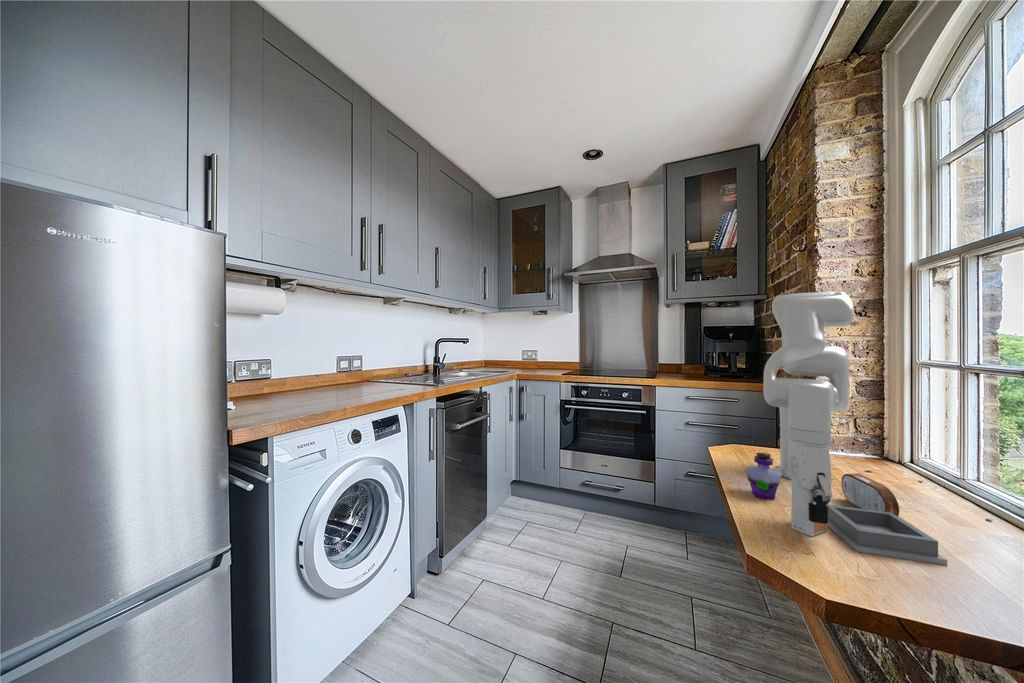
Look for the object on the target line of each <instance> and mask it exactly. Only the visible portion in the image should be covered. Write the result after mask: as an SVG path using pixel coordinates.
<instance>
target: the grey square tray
mask: <svg viewBox="0 0 1024 683" xmlns="http://www.w3.org/2000/svg"><path fill="white" fill-rule="evenodd" d="M827 527H828V528H829V527H830V528H831V529H832V530H833V533H834V534H836V535H837V536H838V537H839V538H840V539H842V540H843V541H844V542H845V543H846V544H847V545H848V546H849V547H851V548H852V549H853V550H854V551H855V552H858V553H863V554H864V553H865V554H872V555H878V556H883V557H890V558H896V557H897V558H898V559H903V558H904V560H909V561H916V562H924V563H930V564H937V565H941V566H942V565H943V566H948V559H946V558H945V557H943V556H942V555H940V554H939V541H938V540H937V539H935V538H934V537H932V536H930V535H928V534H927V533H925V532H924V531H922V530H921V529H919V528H918V527H916V526H914V525H912V524H911V523H910V522H908V521H906V520H904V519H902V518H901V517H899V516H896V515H895V514H893V513H891V512H883V511H874V510H866V509H859V508H858V507H848V506H839V505H832V504H829V506H828V523H827ZM830 528H829V529H830ZM831 529H830V530H831ZM832 530H831V531H832Z"/></svg>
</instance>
